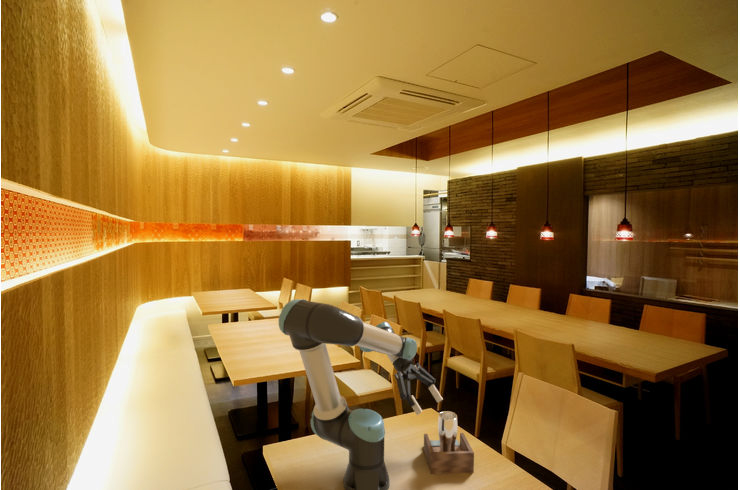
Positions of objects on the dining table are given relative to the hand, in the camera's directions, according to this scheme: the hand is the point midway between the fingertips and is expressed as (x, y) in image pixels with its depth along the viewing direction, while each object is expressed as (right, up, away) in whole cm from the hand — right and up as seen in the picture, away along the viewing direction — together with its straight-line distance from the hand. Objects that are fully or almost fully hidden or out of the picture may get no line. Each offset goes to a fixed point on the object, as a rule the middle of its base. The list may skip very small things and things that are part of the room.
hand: (430, 407), depth 149 cm
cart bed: (+5, -18, -3) cm, 19 cm away
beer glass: (+5, -16, -4) cm, 17 cm away
